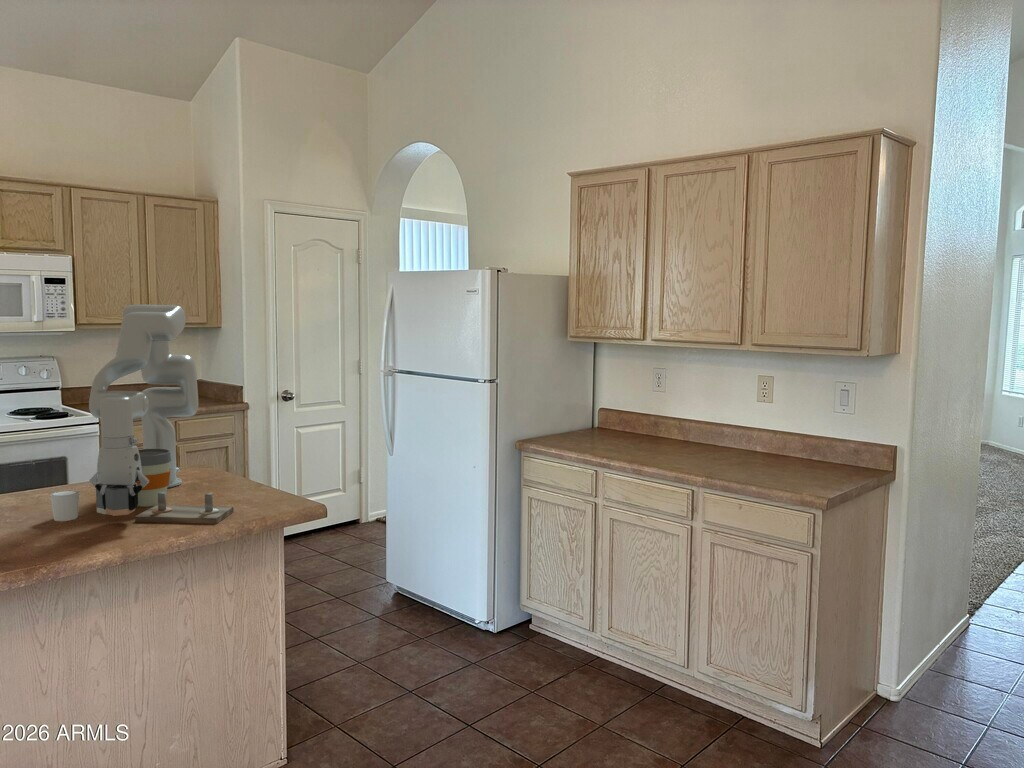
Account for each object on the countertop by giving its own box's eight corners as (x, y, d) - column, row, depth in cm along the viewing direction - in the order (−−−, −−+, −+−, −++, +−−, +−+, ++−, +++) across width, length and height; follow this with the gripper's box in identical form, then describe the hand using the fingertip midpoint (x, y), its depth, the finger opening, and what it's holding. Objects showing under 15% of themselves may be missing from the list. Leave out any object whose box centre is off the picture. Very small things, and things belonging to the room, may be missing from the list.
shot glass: (53, 515, 210) (52, 490, 209) (82, 514, 212) (81, 489, 211) (48, 522, 203) (47, 496, 203) (77, 520, 206) (76, 495, 205)
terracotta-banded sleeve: (116, 507, 207) (115, 482, 207) (138, 508, 207) (137, 483, 207) (102, 515, 201) (101, 489, 200) (125, 516, 201) (124, 490, 200)
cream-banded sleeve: (106, 507, 219) (105, 483, 218) (127, 508, 219) (126, 484, 218) (93, 514, 212) (92, 489, 211) (114, 514, 212) (114, 489, 211)
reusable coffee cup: (120, 509, 218) (119, 457, 216) (130, 498, 230) (128, 449, 228) (168, 506, 221) (167, 455, 220) (175, 496, 233) (174, 447, 232)
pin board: (156, 510, 217) (155, 487, 217) (233, 511, 217) (233, 489, 217) (135, 521, 205) (134, 498, 205) (216, 523, 205) (216, 500, 205)
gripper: (157, 440, 205) (159, 505, 208) (93, 438, 205) (96, 503, 208) (143, 446, 198) (145, 513, 200) (77, 444, 198) (80, 511, 200)
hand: (120, 507), depth 204 cm, fingers closed on terracotta-banded sleeve, 6 cm apart
